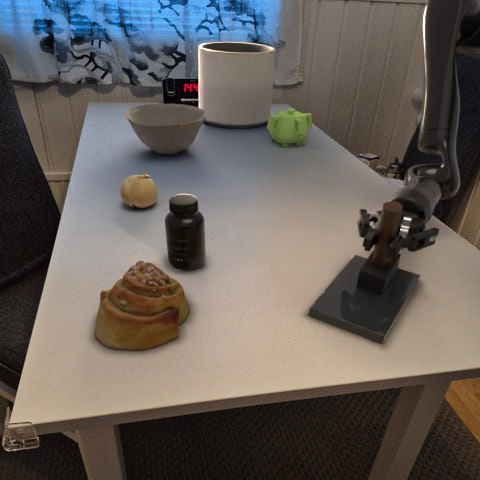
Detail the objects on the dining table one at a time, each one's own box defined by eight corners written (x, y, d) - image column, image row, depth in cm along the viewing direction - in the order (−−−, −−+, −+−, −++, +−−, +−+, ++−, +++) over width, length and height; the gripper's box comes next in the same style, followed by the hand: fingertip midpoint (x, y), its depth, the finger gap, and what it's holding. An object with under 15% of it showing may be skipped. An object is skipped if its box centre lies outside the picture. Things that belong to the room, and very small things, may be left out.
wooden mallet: (372, 262, 78) (386, 191, 67) (397, 270, 76) (415, 198, 66) (356, 286, 74) (369, 214, 64) (382, 295, 72) (399, 223, 62)
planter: (231, 134, 143) (233, 55, 129) (184, 117, 157) (181, 44, 144) (285, 122, 157) (292, 49, 143) (237, 107, 171) (239, 40, 158)
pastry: (193, 292, 73) (192, 249, 68) (180, 353, 62) (177, 307, 57) (113, 287, 73) (106, 244, 69) (85, 348, 62) (74, 302, 57)
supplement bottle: (178, 249, 84) (174, 188, 77) (211, 256, 83) (211, 194, 75) (161, 267, 79) (155, 203, 72) (196, 275, 77) (194, 210, 70)
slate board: (353, 261, 83) (355, 254, 82) (418, 282, 78) (420, 274, 77) (308, 315, 70) (309, 307, 69) (382, 344, 65) (384, 336, 64)
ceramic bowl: (116, 159, 121) (111, 120, 115) (145, 135, 139) (142, 100, 133) (195, 167, 119) (194, 127, 113) (214, 141, 137) (214, 106, 131)
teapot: (311, 140, 141) (315, 107, 135) (301, 150, 133) (305, 115, 127) (276, 135, 145) (278, 102, 138) (264, 144, 136) (266, 110, 130)
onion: (139, 215, 95) (135, 183, 90) (114, 205, 98) (110, 173, 94) (166, 204, 100) (163, 172, 96) (141, 194, 104) (138, 164, 99)
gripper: (375, 180, 79) (339, 213, 67) (457, 199, 73) (433, 239, 62) (366, 219, 84) (331, 256, 72) (443, 239, 78) (418, 284, 66)
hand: (378, 248), depth 67 cm, fingers closed on wooden mallet, 3 cm apart
